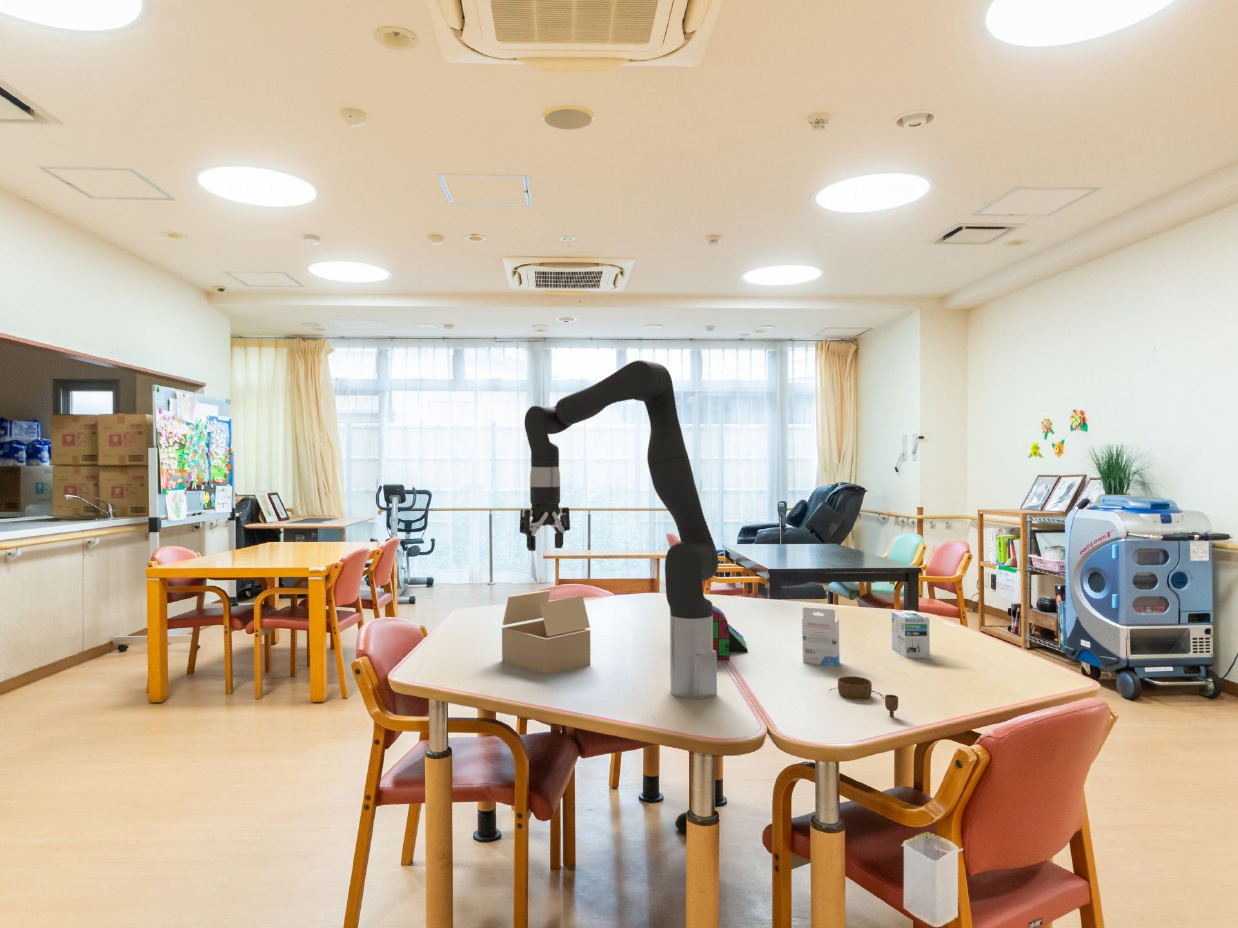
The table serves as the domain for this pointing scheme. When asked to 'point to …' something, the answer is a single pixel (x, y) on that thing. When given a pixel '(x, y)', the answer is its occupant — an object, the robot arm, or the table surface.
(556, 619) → the near flap
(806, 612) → the ink box
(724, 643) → the toy block train
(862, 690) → the place setting
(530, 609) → the far flap
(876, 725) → the table surface
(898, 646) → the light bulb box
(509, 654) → the carton
